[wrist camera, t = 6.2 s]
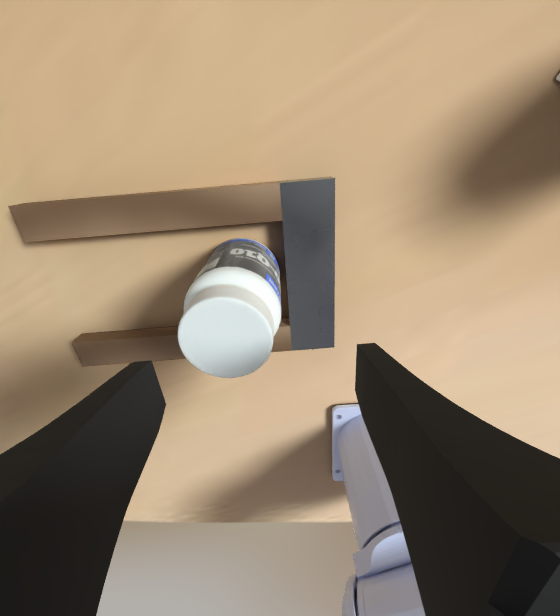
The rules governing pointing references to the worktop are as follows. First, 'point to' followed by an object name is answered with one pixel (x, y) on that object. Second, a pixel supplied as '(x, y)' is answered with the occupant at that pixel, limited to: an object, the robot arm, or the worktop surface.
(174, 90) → the worktop surface
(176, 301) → the worktop surface
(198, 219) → the guide channel
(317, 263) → the panel
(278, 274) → the pill bottle
